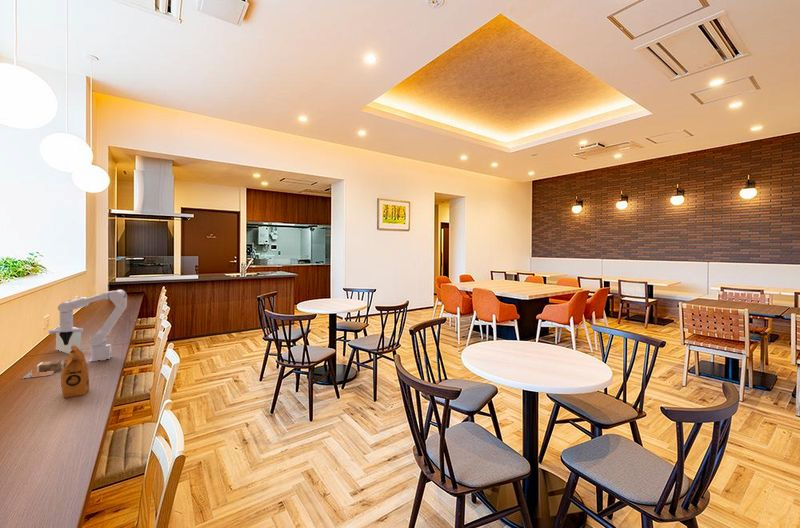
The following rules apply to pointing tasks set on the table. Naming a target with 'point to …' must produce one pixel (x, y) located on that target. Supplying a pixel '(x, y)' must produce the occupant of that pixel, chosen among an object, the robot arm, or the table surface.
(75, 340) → the skincare box
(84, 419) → the table surface
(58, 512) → the table surface
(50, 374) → the mat
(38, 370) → the brown and cream block
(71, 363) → the coffee package
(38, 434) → the table surface
